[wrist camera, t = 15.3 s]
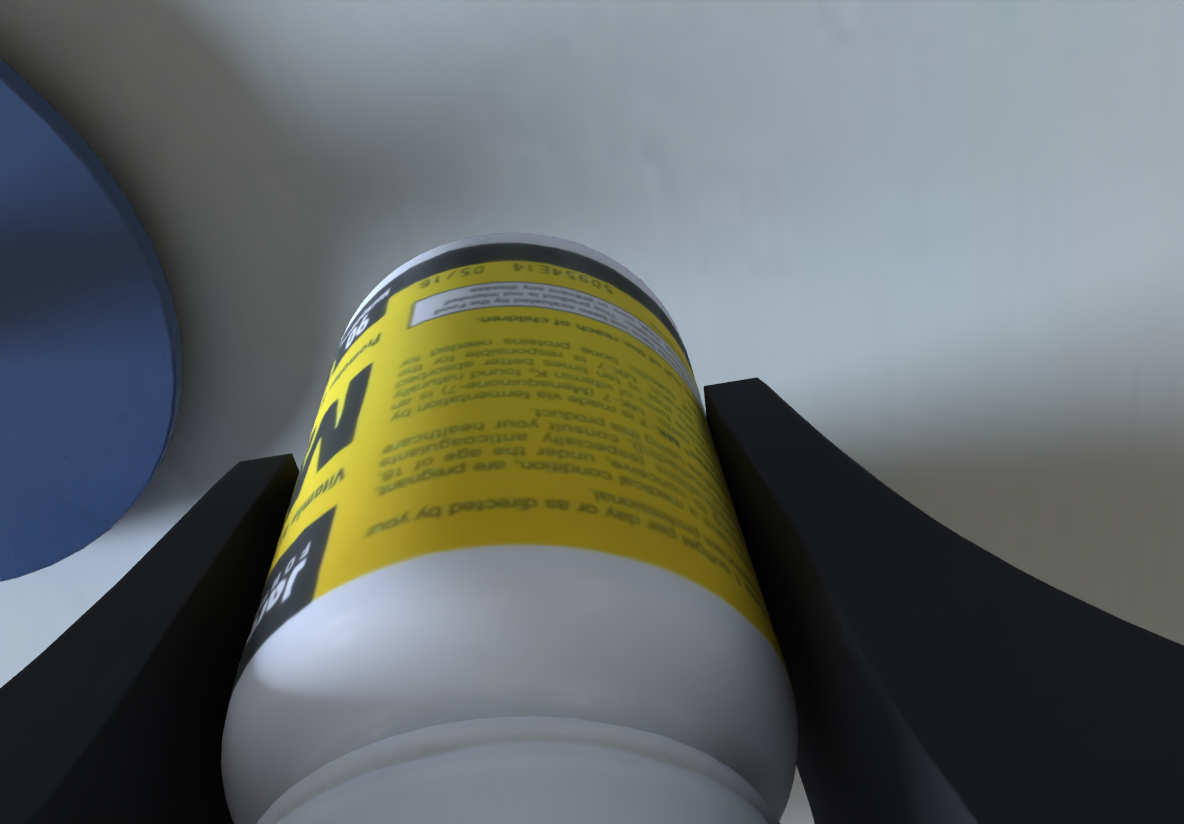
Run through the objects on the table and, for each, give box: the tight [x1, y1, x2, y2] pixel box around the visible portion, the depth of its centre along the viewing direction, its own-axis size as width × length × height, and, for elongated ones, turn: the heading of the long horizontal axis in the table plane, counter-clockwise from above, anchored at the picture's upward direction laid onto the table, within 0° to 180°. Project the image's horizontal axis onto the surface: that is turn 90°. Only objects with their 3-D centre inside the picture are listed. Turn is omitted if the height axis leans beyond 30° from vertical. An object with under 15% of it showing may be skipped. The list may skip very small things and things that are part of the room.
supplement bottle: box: [221, 233, 798, 824], centre depth 9 cm, size 5×5×8 cm
